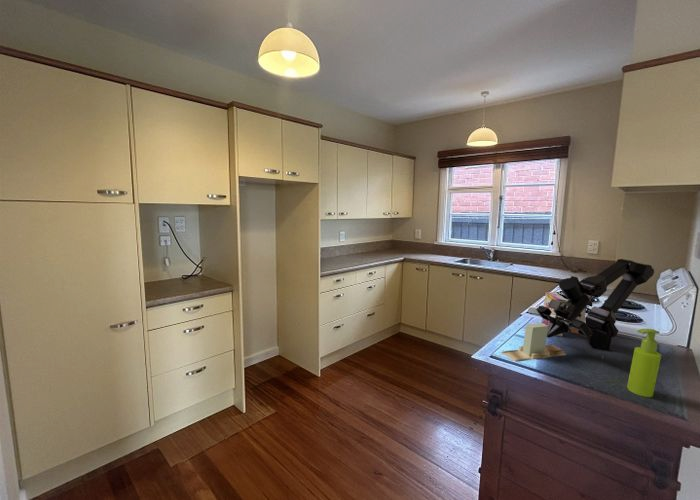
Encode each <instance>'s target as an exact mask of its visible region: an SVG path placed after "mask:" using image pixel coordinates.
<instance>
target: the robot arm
mask: <svg viewBox="0 0 700 500" xmlns="http://www.w3.org/2000/svg"><path fill="white" fill-rule="evenodd" d="M654 274H655V269H654V268H653V266H652V265H651V264H646V263H641V262H636V261H633V260H630V259H626V258H625V259H624V258H619V259H617V260H616V261H615V262H614V263H613V264H612V265H610V266H609V267H607V268H605V269H604V270H603V271H600V273H598V274H596V275H594V276H593V275H591V276H587V277H585V278H583V279H581V280H579V278H578V277H577V276H574V275H571V276H570V277H567V278H564V279H562V280H560V281H559V283H558V286H559V289H560V290H561V292H562V293H563V295H564V296H565V297H566V298H567V300H568V301H567V302H559V301H556V300H553V299H552V300H551V302H550V304H549V306H548V307H551V308H553V309H554V310H553V311H554V312H555V313H556V314H554V313H552V312H551V310H550V309H549V308H547V307H544V305H539V306H538V307H537V308H536V309H535V311H536V312H537V313H538V315H539V316H540V317H541V318H542V319H545V320H547V321H549V327H548V331H547V338H548V339H549V338H552V337H557V336H556V335H558V334H562V333H563V334H564V333H572V332H571V329H572V328H576V329H578V330H579V331H578V332H579V334H578V335H579V336H582V337H584V338H586V343H587V345H589V347H591V349H595V350H596V349H597V350H602V351H607V352H612V351H613V350H612V348H611V342H612V338H615V337H616V336H617V335H618V333H619V329H618V328H617V326H616V325H615V324H616V322H617V321H616V320H617V319H616V314H617V312H618V311H619V310H620V308H621V307H622V306H623V304H624V303H625V302H626V301H627V300H628V298H629V297H630V295H631V294H632V292H633V291H634V290H635V289H636V287H638V286H640V285H642V284H645V283H646V282H648V280H650V279H651V278H652V277H653V276H654ZM621 277H622V279H621V280H620V281H619V282H618V283H617V285H616V286H615V288H614V289H613V290H612V291H611V293H610V295H608V297H606V300H604V302H603V304H602V305H601V306H598V307H597V306H593V300H592V298H596V299H597V298H600V297H601V296H603V295H604V294H605V293H606V292H607V289H608V286H609V285H611V284H613V283H614V282H615V281H617V280H619V278H621ZM587 295H589V297H588V296H587ZM590 297H592V298H590ZM587 307H591V309H590V310H589V312H587V313H586V314H587V315H585V317H586V318H585V322H582V321H580V320H577V319H576V318H577V317H581V316H582V315H581V314H580V313H581V312H582V311H583V310H584V309H585V310H586V308H587Z"/></svg>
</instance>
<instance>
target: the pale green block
mask: <svg viewBox="0 0 700 500" xmlns="http://www.w3.org/2000/svg"><path fill="white" fill-rule="evenodd" d="M547 331H548V326H547V325H545V324H543V323H542V322H536V323H527V324H526V325H525V330H524V338H523V345H522V346H523V353H524V354H526V355H528V356H532V354H534V353H541V352H545V345H547V338H548V337H547Z"/></svg>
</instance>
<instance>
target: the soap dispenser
mask: <svg viewBox="0 0 700 500" xmlns="http://www.w3.org/2000/svg"><path fill="white" fill-rule="evenodd" d="M636 332H638V333H640V334H643V335H645V334H646V337H644V338H642V339H641V344H640V346H637V347H634V348H633V349H634V350H633V356H632V360H631V366H630V370H629V376H628V380H627V385H626V388H627V390H628V391H629V392H630V393H631V392H632V393H633V394H634V395H635V394H636V395H637V396H640V397H644V398H652V397H654V392H655V386H656V382H657V377H658V373H659V368H660V364H661V360H662V359H661V358H662V354H661V353H660V352H658V351H657V349H658V341H656V340H655V337H656V334H660V331H659V330H657V329H653V328H641V329H640V328H639V329H637V330H636Z"/></svg>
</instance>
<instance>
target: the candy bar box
mask: <svg viewBox="0 0 700 500" xmlns="http://www.w3.org/2000/svg"><path fill="white" fill-rule="evenodd" d="M552 299H553V300H556V301H559V302H567V301H568V300H569V299H566V298H565V297H563V296H562V295H561V294H559V293H558V292H552V291H551V292H550V291H545V297H544V303H543V304H544V305H543V306H544V307H547V308H549V309H550V310H551V312H552V313H554V314H556V313H555V312H554V311H553V310H554V309H553V308H551V307H548V306H549V304H550V302H551V300H552ZM541 323H543V324H545V325H547V326H548V327H549V321H547V320H545V319H543V318H542V319H541ZM555 337H562V338H563V337H564V333H562V334H558V335H556V336H555Z"/></svg>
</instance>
